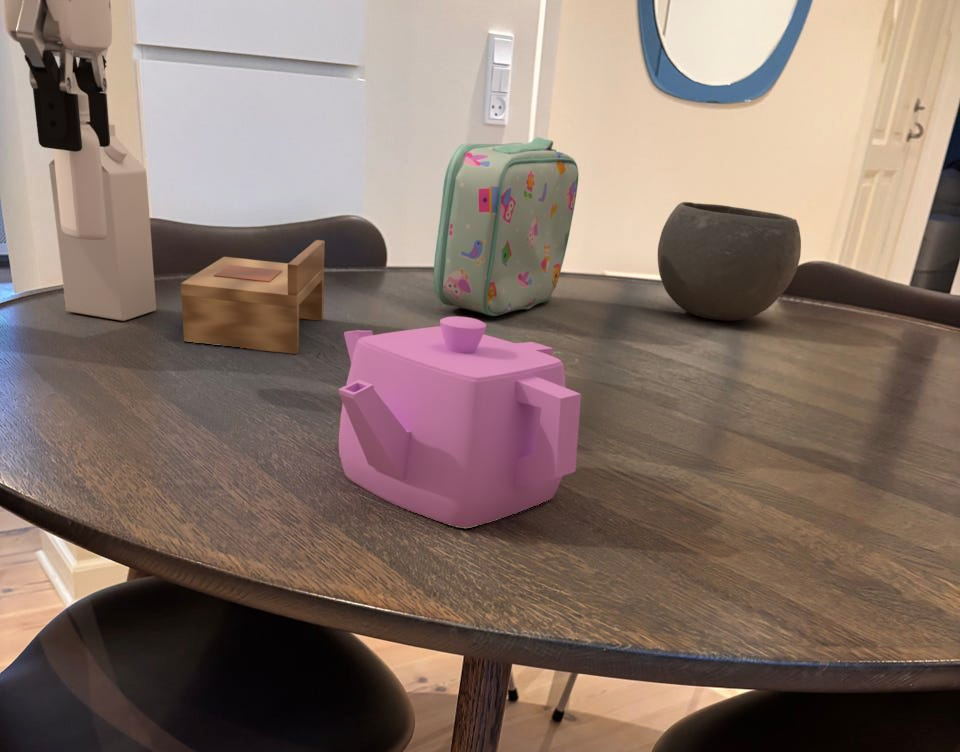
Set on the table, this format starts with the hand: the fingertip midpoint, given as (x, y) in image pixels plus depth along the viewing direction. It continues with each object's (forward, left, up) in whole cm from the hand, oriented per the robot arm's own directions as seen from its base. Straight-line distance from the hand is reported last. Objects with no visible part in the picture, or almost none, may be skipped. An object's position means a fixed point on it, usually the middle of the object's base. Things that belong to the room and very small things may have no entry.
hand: (76, 144), depth 77 cm
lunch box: (+37, +53, -19) cm, 68 cm away
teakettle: (+32, -19, -19) cm, 42 cm away
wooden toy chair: (+9, +24, -19) cm, 32 cm away
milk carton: (-8, +25, -19) cm, 32 cm away
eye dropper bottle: (0, 0, -7) cm, 7 cm away
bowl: (+70, +62, -19) cm, 96 cm away
